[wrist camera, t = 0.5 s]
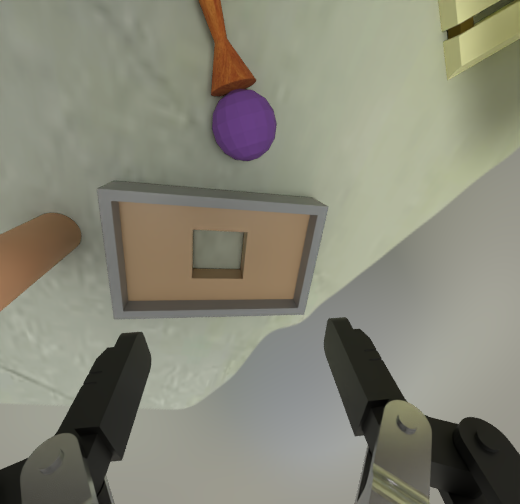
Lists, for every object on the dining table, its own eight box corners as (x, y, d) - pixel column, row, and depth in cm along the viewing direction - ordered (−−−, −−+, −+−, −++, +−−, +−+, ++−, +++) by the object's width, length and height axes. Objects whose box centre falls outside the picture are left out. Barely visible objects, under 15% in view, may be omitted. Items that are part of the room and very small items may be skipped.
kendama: (221, -191, 16) (293, 148, 23) (206, -97, 21) (268, 153, 28) (122, -196, 14) (232, 167, 22) (133, -94, 19) (218, 168, 27)
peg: (28, 211, 26) (-196, 304, 11) (77, 214, 27) (-72, 303, 12) (38, 251, 27) (-146, 375, 13) (84, 252, 28) (-40, 369, 14)
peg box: (113, 180, 26) (96, 188, 22) (312, 197, 31) (328, 206, 27) (125, 296, 31) (114, 319, 27) (293, 294, 36) (304, 314, 32)
